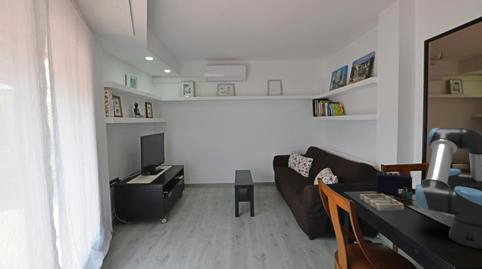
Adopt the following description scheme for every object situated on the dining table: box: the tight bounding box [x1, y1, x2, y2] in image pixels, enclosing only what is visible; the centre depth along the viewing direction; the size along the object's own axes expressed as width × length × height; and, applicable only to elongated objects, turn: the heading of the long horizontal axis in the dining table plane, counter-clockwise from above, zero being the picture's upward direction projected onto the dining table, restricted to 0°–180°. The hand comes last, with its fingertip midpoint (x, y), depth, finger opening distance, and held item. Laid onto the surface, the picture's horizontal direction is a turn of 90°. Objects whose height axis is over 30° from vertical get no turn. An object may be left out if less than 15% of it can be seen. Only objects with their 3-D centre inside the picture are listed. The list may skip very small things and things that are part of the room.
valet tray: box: [359, 193, 405, 212], centre depth 162 cm, size 22×15×4 cm
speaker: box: [376, 171, 413, 196], centre depth 184 cm, size 22×13×15 cm, turn 62°
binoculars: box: [393, 186, 414, 206], centre depth 162 cm, size 9×11×10 cm
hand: (405, 194), depth 162 cm, fingers open, 13 cm apart
